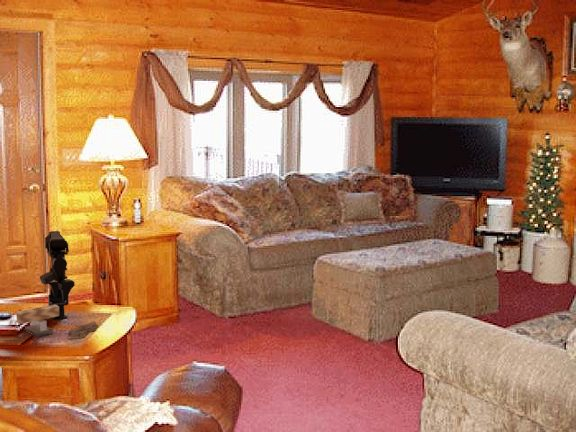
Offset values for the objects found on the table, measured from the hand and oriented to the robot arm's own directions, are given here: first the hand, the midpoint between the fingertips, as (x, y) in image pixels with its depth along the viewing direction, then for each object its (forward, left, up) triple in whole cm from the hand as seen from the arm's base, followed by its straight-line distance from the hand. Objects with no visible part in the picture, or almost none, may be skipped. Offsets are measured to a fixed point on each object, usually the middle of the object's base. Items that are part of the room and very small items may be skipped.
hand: (59, 298), depth 327 cm
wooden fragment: (+12, +5, -14) cm, 19 cm away
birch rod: (+1, -11, -7) cm, 13 cm away
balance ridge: (+1, -11, -13) cm, 17 cm away
